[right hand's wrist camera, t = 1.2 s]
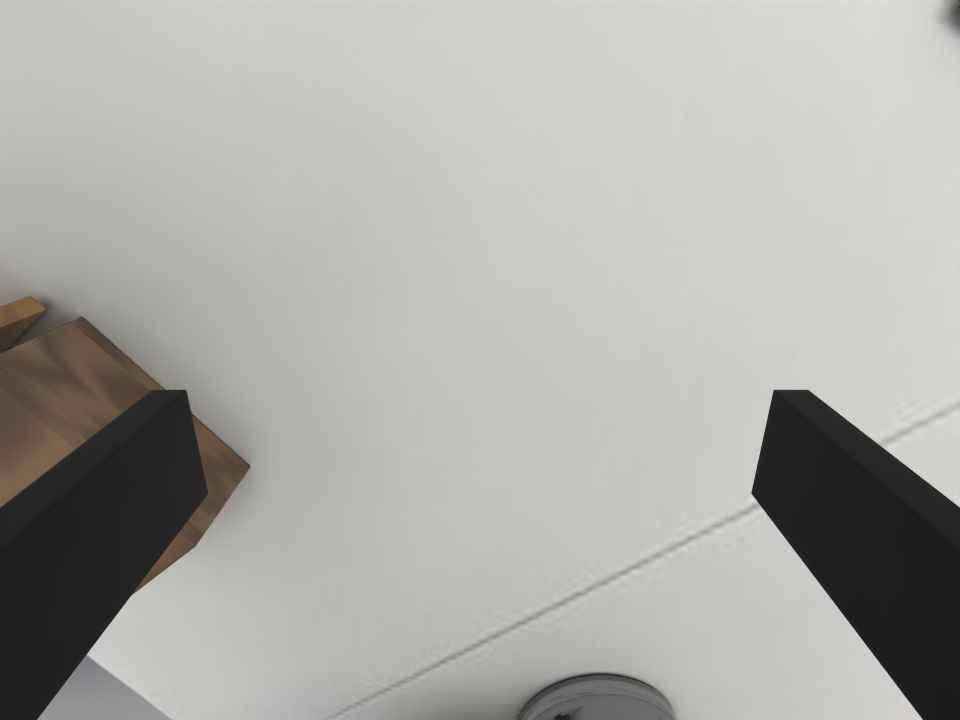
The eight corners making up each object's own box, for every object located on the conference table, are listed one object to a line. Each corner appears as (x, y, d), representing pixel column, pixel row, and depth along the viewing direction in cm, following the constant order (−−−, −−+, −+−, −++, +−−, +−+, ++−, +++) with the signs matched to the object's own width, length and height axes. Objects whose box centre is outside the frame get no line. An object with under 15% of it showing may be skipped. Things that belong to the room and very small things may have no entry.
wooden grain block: (-13, 409, 40) (-138, 479, 32) (82, 316, 38) (-29, 366, 29) (155, 541, 45) (83, 632, 36) (251, 466, 42) (195, 546, 34)
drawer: (-128, 327, 37) (-252, 366, 31) (-44, 230, 34) (-160, 251, 28) (110, 513, 42) (46, 578, 36) (196, 440, 40) (144, 497, 34)
